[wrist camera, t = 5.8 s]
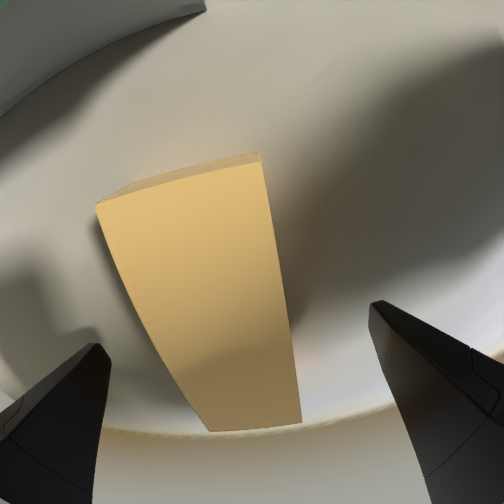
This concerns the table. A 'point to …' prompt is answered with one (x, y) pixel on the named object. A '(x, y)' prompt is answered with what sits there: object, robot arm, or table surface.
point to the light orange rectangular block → (209, 288)
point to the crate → (69, 35)
